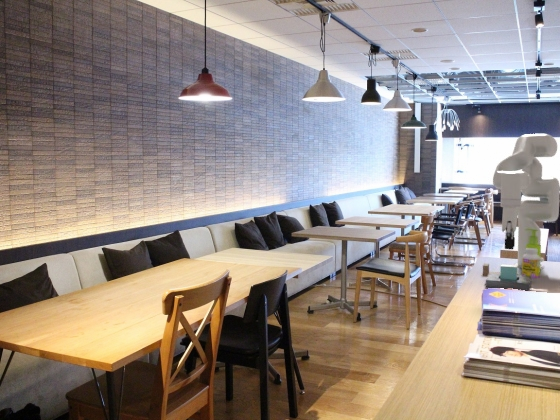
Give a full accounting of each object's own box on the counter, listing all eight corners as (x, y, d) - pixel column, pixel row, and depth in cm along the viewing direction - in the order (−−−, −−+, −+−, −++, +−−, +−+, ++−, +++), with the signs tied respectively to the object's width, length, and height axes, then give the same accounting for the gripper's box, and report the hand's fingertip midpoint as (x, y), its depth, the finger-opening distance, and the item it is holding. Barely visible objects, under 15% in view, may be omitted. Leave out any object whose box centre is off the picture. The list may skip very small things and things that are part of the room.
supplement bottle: (519, 278, 231) (520, 249, 230) (525, 276, 236) (525, 247, 235) (536, 281, 227) (537, 250, 226) (541, 278, 232) (542, 248, 230)
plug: (500, 283, 223) (501, 264, 222) (516, 285, 220) (517, 265, 220) (500, 285, 219) (500, 266, 219) (516, 287, 217) (517, 267, 216)
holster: (483, 273, 243) (483, 262, 243) (512, 275, 238) (512, 264, 237) (480, 277, 234) (481, 266, 234) (510, 280, 229) (511, 268, 228)
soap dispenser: (526, 271, 245) (527, 227, 243) (542, 274, 240) (543, 229, 238) (520, 273, 241) (522, 229, 239) (537, 276, 236) (538, 230, 234)
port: (489, 279, 230) (489, 272, 230) (531, 283, 223) (531, 275, 222) (485, 287, 217) (485, 279, 217) (529, 291, 210) (529, 282, 210)
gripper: (502, 201, 226) (501, 244, 228) (498, 204, 211) (497, 250, 213) (522, 201, 223) (520, 245, 225) (519, 205, 208) (518, 251, 209)
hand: (509, 247), depth 219 cm, fingers open, 5 cm apart
